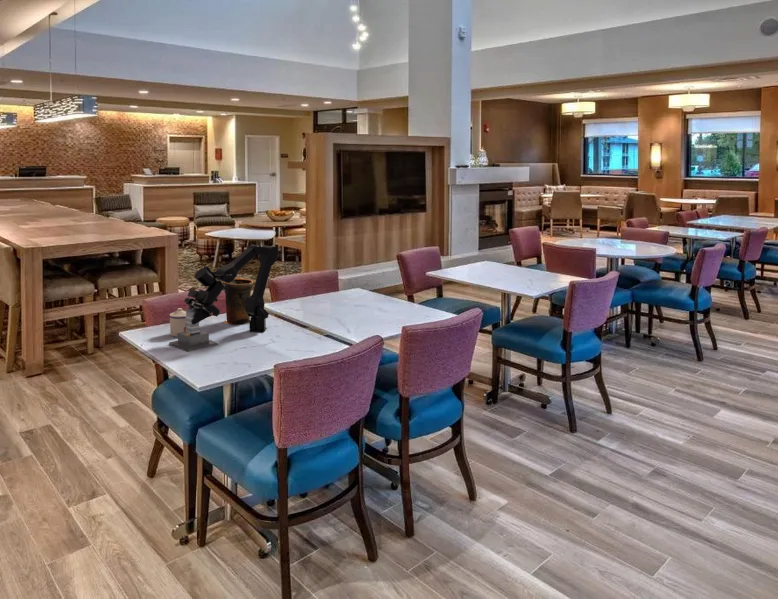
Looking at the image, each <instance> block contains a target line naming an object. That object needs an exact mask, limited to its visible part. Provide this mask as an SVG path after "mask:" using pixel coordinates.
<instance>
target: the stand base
mask: <svg viewBox="0 0 778 599" xmlns="http://www.w3.org/2000/svg"><path fill="white" fill-rule="evenodd" d="M177 334H178V337H177V340H173V341H169V342H168V344H169V346H172V347H174V348H177V349H180V350H182V351H186V352H188V353H189V352H193V351H197V350H201V349H205V348H211V347H214V346H218V345H219V344H218V342H217V341H214V340H212V339H210V334H209V332H206V331H203V330H200V332H199V334H196V335H190V333H189V332H188V333H187V332H181V333H177Z"/></svg>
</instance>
